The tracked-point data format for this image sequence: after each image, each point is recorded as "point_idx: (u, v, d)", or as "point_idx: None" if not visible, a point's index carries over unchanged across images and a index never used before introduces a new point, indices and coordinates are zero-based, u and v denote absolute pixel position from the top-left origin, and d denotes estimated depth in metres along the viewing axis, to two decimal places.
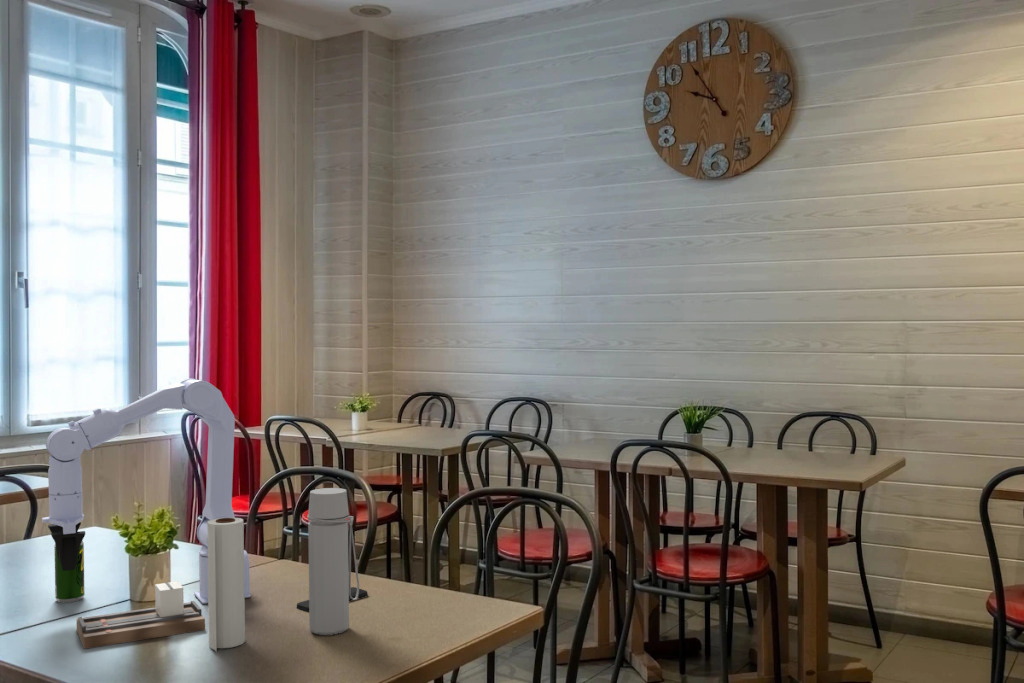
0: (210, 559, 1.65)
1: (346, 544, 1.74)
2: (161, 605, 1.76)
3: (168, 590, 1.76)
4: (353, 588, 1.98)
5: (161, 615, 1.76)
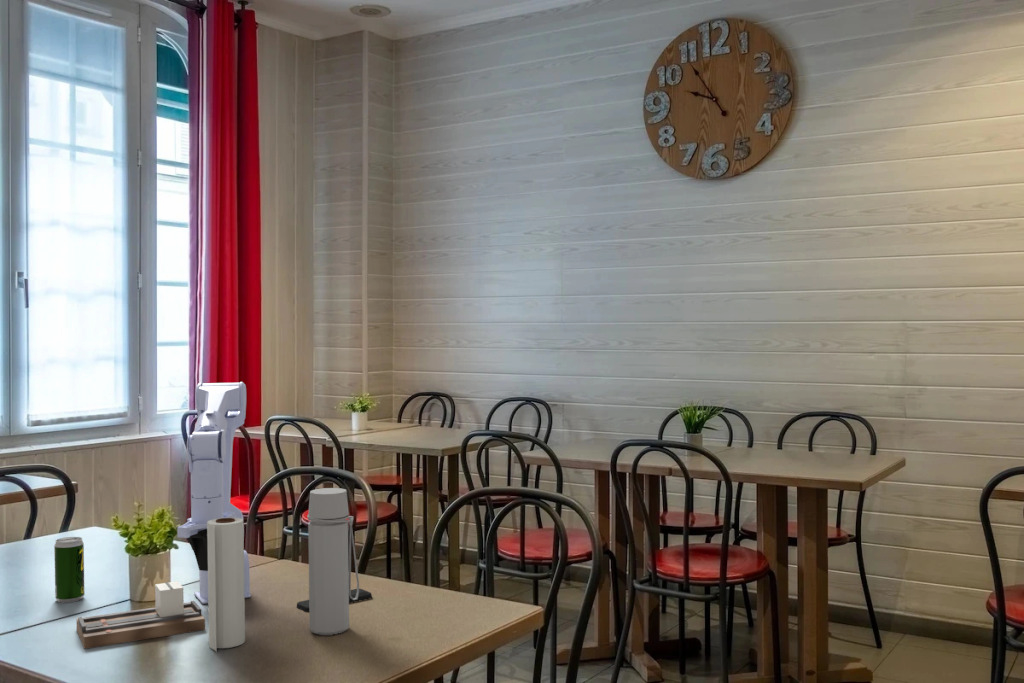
0: (210, 559, 1.65)
1: (346, 544, 1.74)
2: (161, 605, 1.76)
3: (168, 590, 1.76)
4: None
5: (161, 615, 1.76)
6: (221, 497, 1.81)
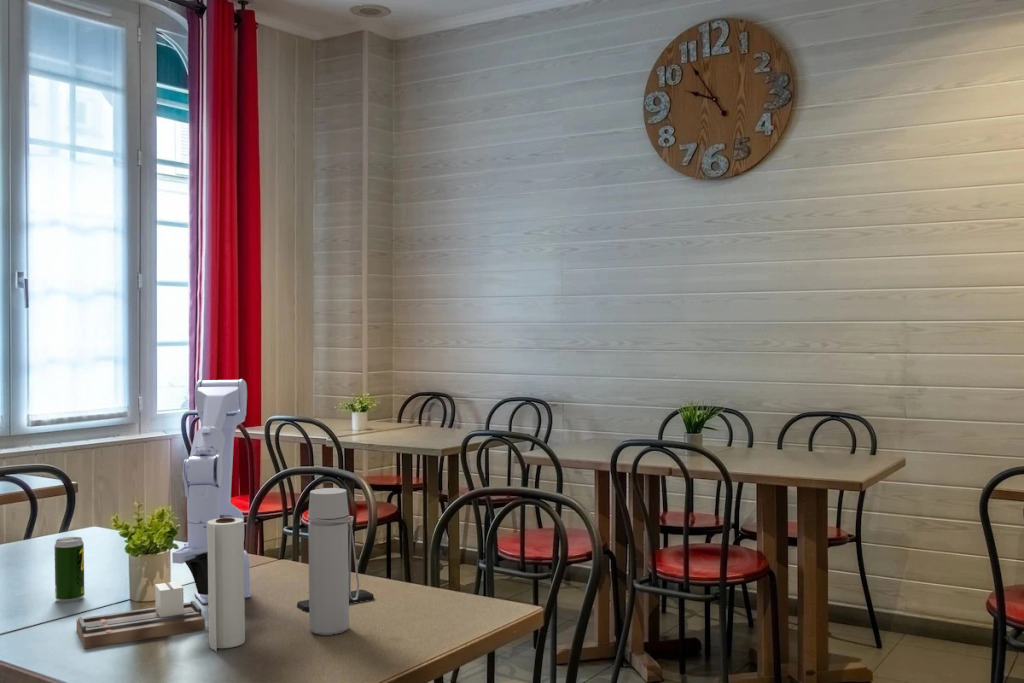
0: (210, 559, 1.65)
1: (346, 544, 1.74)
2: (161, 605, 1.76)
3: (168, 590, 1.76)
4: (361, 590, 1.96)
5: (161, 615, 1.76)
6: None
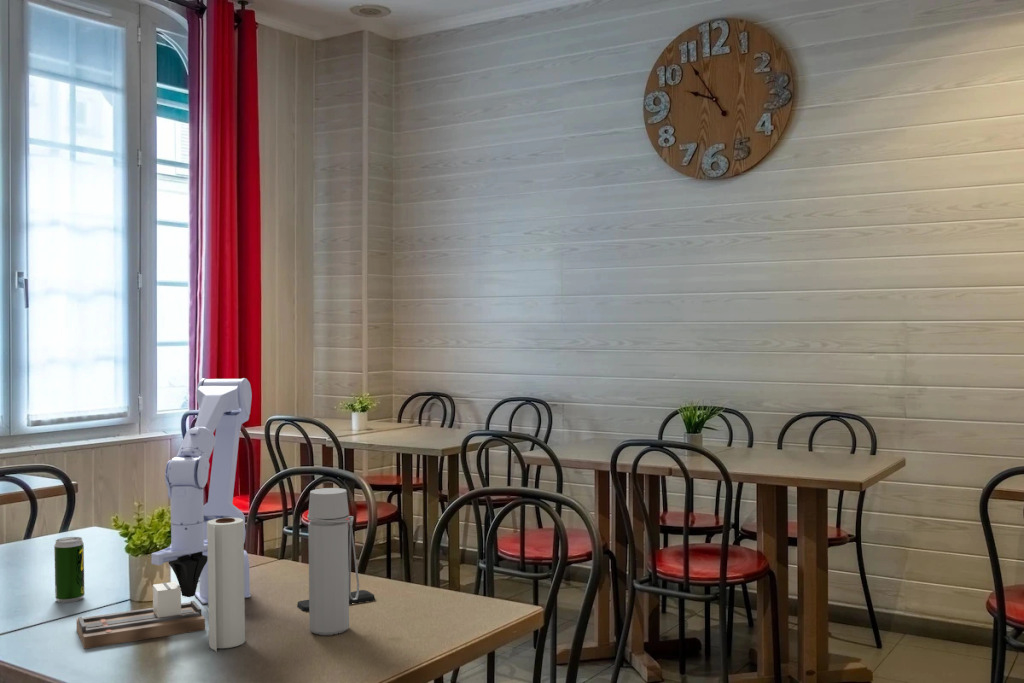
0: (210, 559, 1.65)
1: (346, 544, 1.74)
2: (158, 605, 1.75)
3: (165, 590, 1.76)
4: (362, 591, 1.96)
5: (158, 615, 1.76)
6: (200, 524, 1.79)
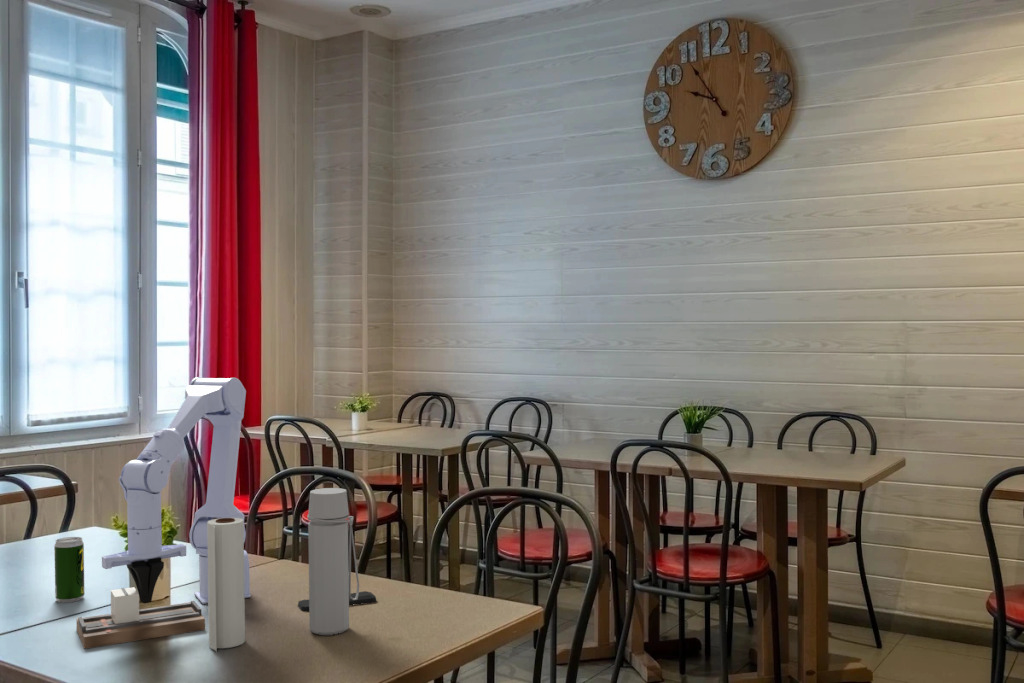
0: (210, 559, 1.65)
1: (346, 544, 1.74)
2: (115, 611, 1.72)
3: (123, 596, 1.73)
4: (364, 592, 1.95)
5: (116, 622, 1.72)
6: (153, 529, 1.75)
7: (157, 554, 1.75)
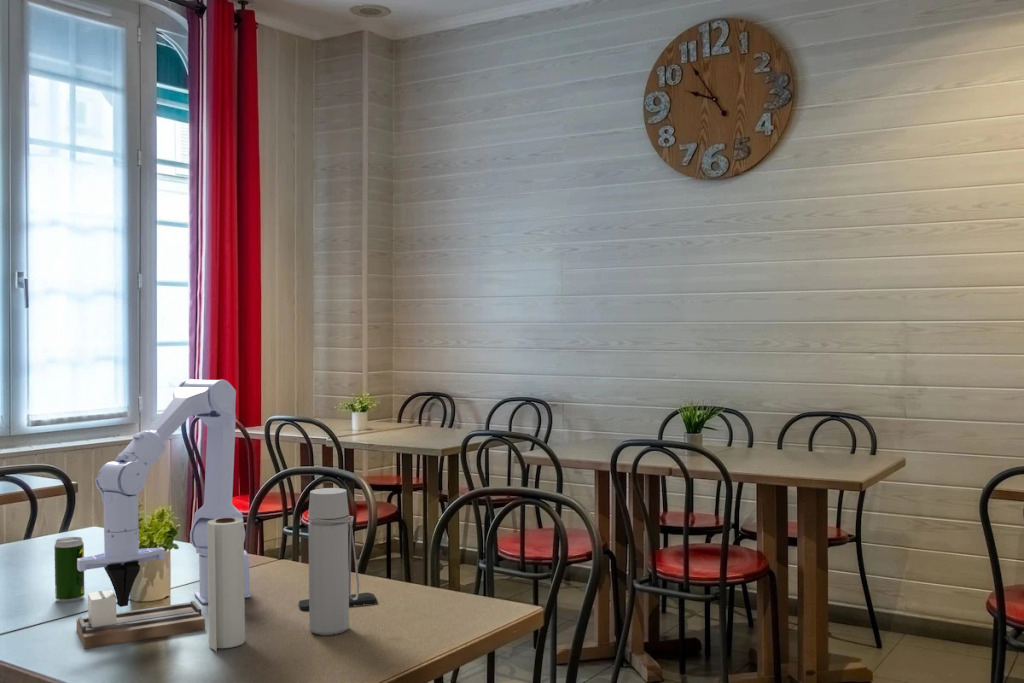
0: (210, 559, 1.65)
1: (346, 544, 1.74)
2: (92, 615, 1.70)
3: (100, 599, 1.71)
4: (366, 594, 1.94)
5: (92, 625, 1.70)
6: (128, 532, 1.73)
7: (132, 557, 1.73)
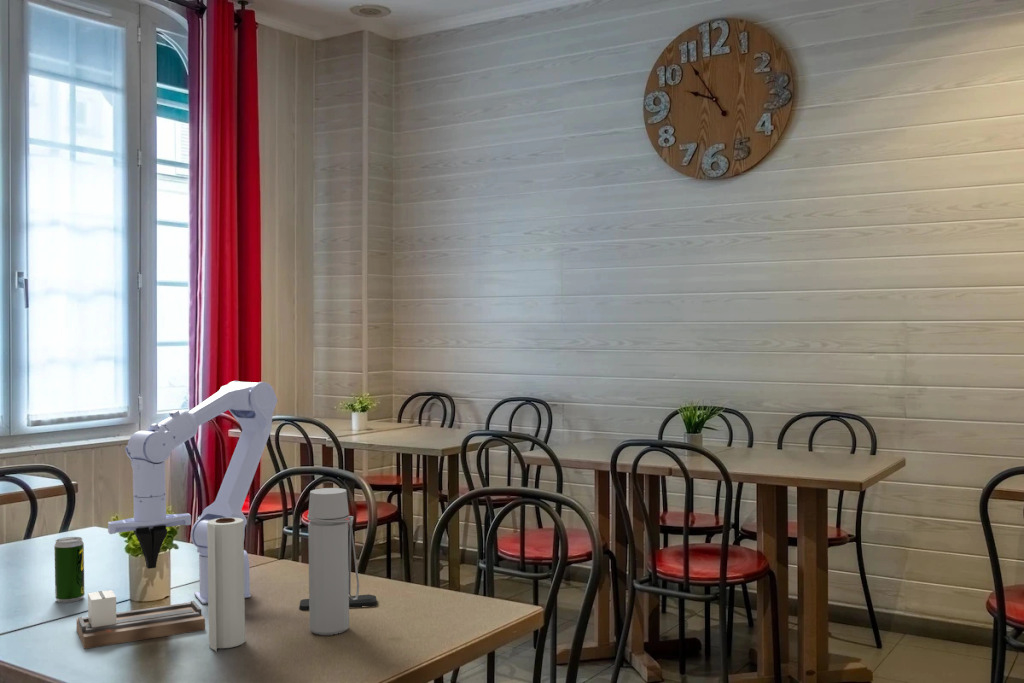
0: (210, 559, 1.65)
1: (346, 544, 1.74)
2: (92, 615, 1.70)
3: (100, 599, 1.71)
4: (367, 595, 1.92)
5: (92, 625, 1.70)
6: (155, 498, 1.82)
7: (159, 522, 1.82)
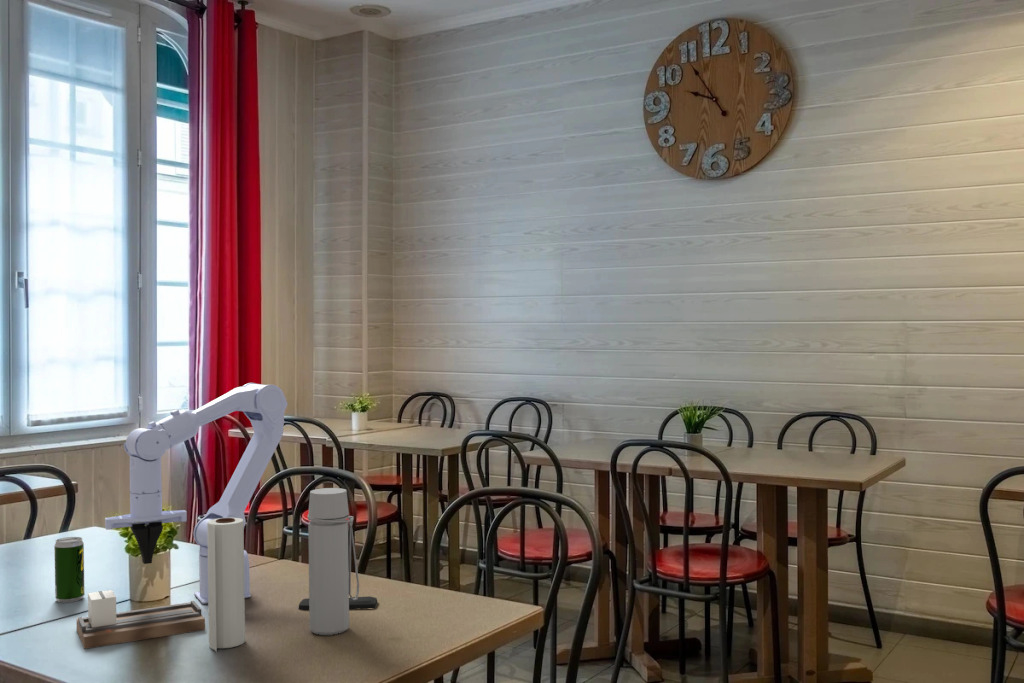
0: (210, 559, 1.65)
1: (346, 544, 1.74)
2: (92, 615, 1.70)
3: (100, 599, 1.71)
4: (367, 597, 1.91)
5: (92, 625, 1.70)
6: (151, 494, 1.85)
7: (155, 518, 1.85)
